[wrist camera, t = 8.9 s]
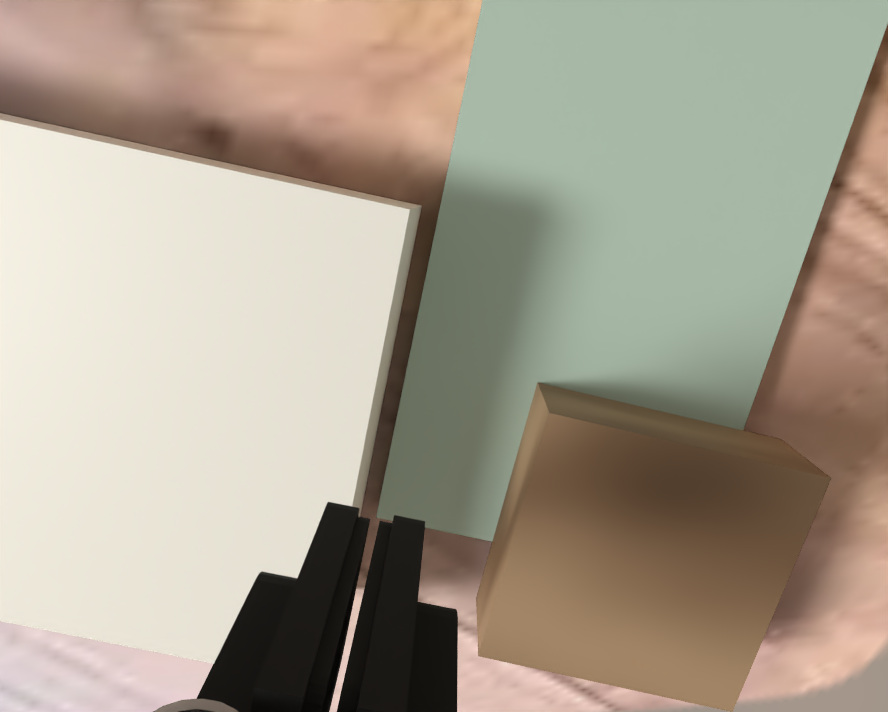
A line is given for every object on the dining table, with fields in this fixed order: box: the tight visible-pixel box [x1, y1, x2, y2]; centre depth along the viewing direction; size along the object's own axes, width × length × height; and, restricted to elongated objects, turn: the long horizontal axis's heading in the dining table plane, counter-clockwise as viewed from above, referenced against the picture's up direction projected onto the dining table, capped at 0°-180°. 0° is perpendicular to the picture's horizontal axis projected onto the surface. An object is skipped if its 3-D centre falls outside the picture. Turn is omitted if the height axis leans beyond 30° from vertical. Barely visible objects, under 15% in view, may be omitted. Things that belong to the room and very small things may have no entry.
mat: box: [376, 0, 888, 542], centre depth 17 cm, size 16×10×1 cm, turn 168°
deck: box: [0, 113, 422, 664], centre depth 16 cm, size 12×16×4 cm
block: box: [476, 382, 831, 712], centre depth 17 cm, size 7×7×2 cm
